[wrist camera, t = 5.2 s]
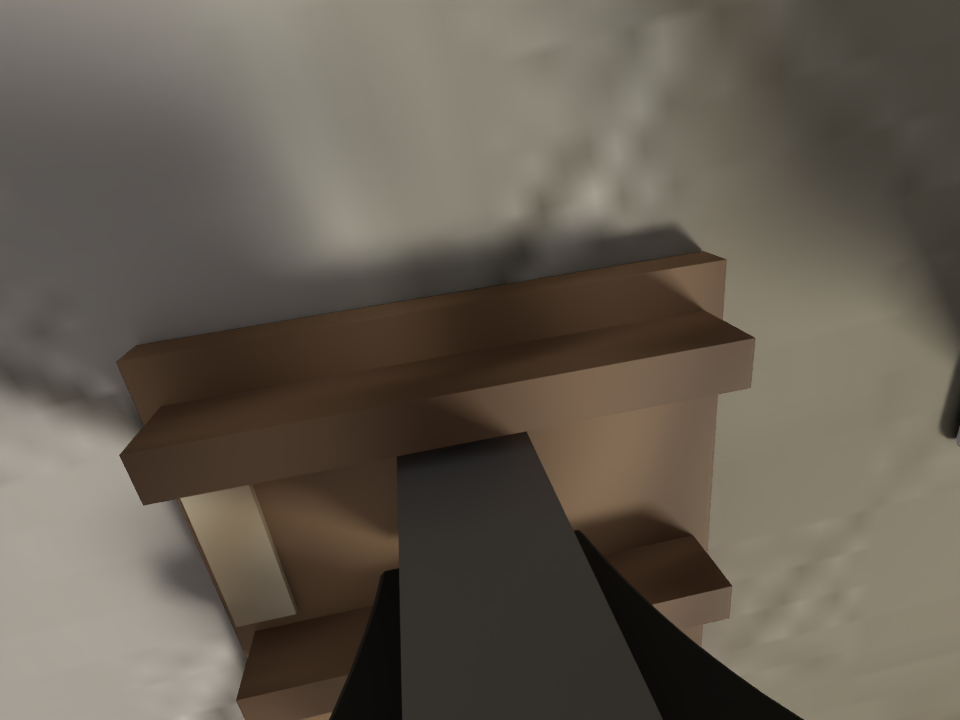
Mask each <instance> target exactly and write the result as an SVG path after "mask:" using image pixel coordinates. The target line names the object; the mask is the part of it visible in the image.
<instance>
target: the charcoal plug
mask: <svg viewBox="0 0 960 720" xmlns="http://www.w3.org/2000/svg"><path fill="white" fill-rule="evenodd" d="M397 491H398V539H399V586H400V634H401V682H402V720H663V719H662V717H661V715H660V712H659V710H658V708H657V706H656V704H655V702H654V700H653V698H652V696H651V693H650V691H649V689H648V687H647V685H646V683H645V681H644V679H643V677H642V674H641V672H640V670H639V668H638V666H637V664H636V662H635V660H634V657H633V655H632V653H631V651H630V649H629V647H628V645H627V643H626V641H625V638H624V636H623V634H622V632H621V630H620V628H619V626H618V624H617V622H616V619H615V617H614V615H613V613H612V611H611V609H610V607H609V605H608V603H607V600H606V598H605V596H604V594H603V592H602V590H601V588H600V586H599V584H598V581H597V579H596V577H595V575H594V573H593V571H592V569H591V567H590V565H589V562H588V560H587V558H586V556H585V554H584V552H583V550H582V548H581V546H580V543H579V541H578V539H577V537H576V535H575V533H574V531H573V529H572V526H571V524H570V522H569V520H568V518H567V516H566V514H565V512H564V510H563V507H562V505H561V503H560V501H559V499H558V497H557V495H556V493H555V491H554V488H553V486H552V484H551V482H550V480H549V478H548V476H547V474H546V472H545V469H544V467H543V465H542V463H541V461H540V459H539V457H538V455H537V453H536V450H535V448H534V446H533V444H532V442H531V440H530V438H529V436H528V434H527V431H525V432H520V433H515V434H510V435H505V436H500V437H494V438H489V439H484V440H479V441H474V442H469V443H463V444H458V445H453V446H448V447H443V448H438V449H432V450H427V451H422V452H417V453H412V454H407V455H401V456H397Z"/></svg>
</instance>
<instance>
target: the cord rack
mask: <svg viewBox="0 0 960 720" xmlns="http://www.w3.org/2000/svg"><path fill="white" fill-rule="evenodd" d="M725 276H726V259H724V258H721V257H718V256H715V255H713V254H710V253H707V252H704V251H703V252H697V253H691V254H685V255H679V256H673V257H667V258H661V259H655V260H649V261H643V262H637V263H631V264H625V265H619V266H613V267H607V268H601V269H595V270H589V271H582V272H576V273H570V274H564V275H558V276H552V277H546V278H540V279H534V280H528V281H522V282H516V283H510V284H504V285H498V286H492V287H486V288H480V289H474V290H468V291H462V292H456V293H450V294H444V295H438V296H431V297H425V298H419V299H413V300H407V301H401V302H395V303H389V304H383V305H377V306H371V307H365V308H359V309H353V310H347V311H341V312H335V313H329V314H323V315H317V316H311V317H305V318H299V319H293V320H287V321H280V322H274V323H268V324H262V325H256V326H250V327H244V328H238V329H232V330H226V331H220V332H214V333H208V334H202V335H196V336H190V337H184V338H178V339H172V340H166V341H160V342H154V343H148V344H142V345H136V346H135V347H134V348H133V349H131V350H130V351H129V352H128V353H126V354H125V355H124V356H123V357H122V358H120V359H119V360H118V361H117V362H116V363H117V365H118V368H119V370H120V372H121V374H122V377H123V379H124V381H125V383H126V386H127V388H128V390H129V393H130V395H131V397H132V399H133V402H134V404H135V406H136V408H137V411H138V413H139V415H140V417H141V420H142V422H143V424H144V427H143V428H142V429H141V430H140V431H139V433H138V434H137V435H136V436H135V437H134V438H133V440H132V441H131V442H130V443H129V444H128V445H127V447H126V448H125V449H124V450H123V451H122V453H121V454H120V455H119V456H120V458H121V460H122V462H123V464H124V466H125V468H126V470H127V472H128V474H129V477H130V479H131V481H132V483H133V485H134V487H135V489H136V491H137V493H138V495H139V498H140V500H141V502H142V504H143V505H148V504H153V503H158V502H163V501H169V500H174V499H177V501H178V504H179V506H180V508H181V510H182V513H183V515H184V517H185V519H186V522H187V524H188V526H189V528H190V531H191V533H192V535H193V538H194V540H195V542H196V544H197V547H198V549H199V551H200V553H201V556H202V558H203V560H204V562H205V565H206V567H207V569H208V572H209V574H210V576H211V578H212V581H213V583H214V585H215V587H216V590H217V592H218V594H219V596H220V599H221V601H222V603H223V606H224V608H225V610H226V612H227V615H228V617H229V619H230V621H231V624H232V626H233V628H234V630H235V633H236V635H237V637H238V640H239V642H240V644H241V646H242V649H243V651H244V653H245V655H246V658H247V662H246V666H245V670H244V673H243V677H242V681H241V685H240V688H239V692H238V696H237V699H236V701H237V704H238V706H239V708H240V710H241V712H242V714H243V716H244V718H245V720H329V718H330V716H331V714H332V712H333V709H334V707H335V705H336V702H337V700H338V698H339V696H340V693H341V691H342V689H343V686H344V684H345V682H346V679H347V677H348V675H349V672H350V670H351V667H352V664H353V662H354V659H355V656H356V654H357V651H358V648H359V645H360V643H361V640H362V637H363V635H364V632H365V629H366V626H367V623H368V620H369V617H370V614H371V610H372V607H373V604H374V600H375V597H376V593H377V589H378V585H379V580H380V576H381V575H382V574H383V573H384V571H388V570H392V569H397V568H399V539H398V491H397V456H401V455H407V454H412V453H417V452H422V451H427V450H432V449H438V448H443V447H448V446H453V445H458V444H463V443H469V442H474V441H479V440H484V439H489V438H494V437H500V436H505V435H510V434H515V433H520V432H525V431H527V434H528V436H529V438H530V440H531V442H532V444H533V446H534V448H535V450H536V453H537V455H538V457H539V459H540V461H541V463H542V465H543V467H544V469H545V472H546V474H547V476H548V478H549V480H550V482H551V484H552V486H553V488H554V491H555V493H556V495H557V497H558V499H559V501H560V503H561V505H562V507H563V510H564V512H565V514H566V516H567V518H568V520H569V522H570V524H571V526H572V529H573V531H575V530H579V531H581V532H582V533H584V535H585V536H586V537H587V538H588V539H589V541H590V542H591V543H592V544H593V545H594V546H595V547H596V549H597V550H598V551H599V552H600V553H601V554H602V555H603V556H604V557H605V558H606V560H607V561H608V562H609V563H610V564H611V565H612V566H613V567H614V568H615V569H616V570H617V571H618V572H619V573H620V574H621V575H622V576H623V577H624V578H625V579H626V580H627V581H628V582H629V583H630V584H631V585H632V586H633V587H634V588H635V589H636V590H637V591H638V592H639V593H640V594H641V595H642V596H643V597H644V598H645V599H646V600H647V601H648V602H650V603H651V604H652V605H653V606H654V607H655V608H656V609H657V610H658V611H659V612H660V613H661V614H663V615H664V616H665V617H666V618H667V619H668V620H669V621H670V622H672V623H673V624H674V625H675V626H676V627H677V628H679V629H680V630H681V631H682V632H683V633H684V634H686V635H687V636H688V637H689V638H690V639H692V640H693V641H694V642H695V643H696V644H698V645H699V646H700V647H701V643H702V628H703V624H706V623H710V622H714V621H719V620H723V619H727V618H729V616H730V606H731V595H732V585H731V584H730V582H729V581H728V580H727V579H726V577H725V576H724V575H723V573H722V572H721V571H720V569H719V568H718V567H717V565H716V564H715V563H714V562H713V560H712V559H711V558H710V556H709V555H708V554H707V551H708V536H709V521H710V506H711V490H712V475H713V460H714V444H715V429H716V414H717V398H718V394H722V393H727V392H732V391H737V390H743V389H748V388H751V381H752V370H753V359H754V348H755V338H754V337H752V336H751V335H749V334H747V333H745V332H743V331H742V330H740V329H738V328H736V327H734V326H732V325H731V324H729V323H727V322H725V321H723V306H724V291H725Z"/></svg>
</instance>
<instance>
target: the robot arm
mask: <svg viewBox="0 0 960 720" xmlns="http://www.w3.org/2000/svg"><path fill="white" fill-rule="evenodd" d="M957 444H958V446H959V447H960V427H959V431H958V434H957ZM574 533H575V535H576V537H577V539H578V541H579V543H580V546H581V548H582V550H583V552H584V554H585V556H586V558H587V560H588V562H589V565H590V567H591V569H592V571H593V573H594V575H595V577H596V579H597V581H598V584H599V586H600V588H601V590H602V592H603V594H604V596H605V598H606V600H607V603H608V605H609V607H610V609H611V611H612V613H613V615H614V617H615V619H616V622H617V624H618V626H619V628H620V630H621V632H622V634H623V636H624V638H625V641H626V643H627V645H628V647H629V649H630V651H631V653H632V655H633V657H634V660H635V662H636V664H637V666H638V668H639V670H640V672H641V674H642V677H643V679H644V681H645V683H646V685H647V687H648V689H649V691H650V693H651V696H652V698H653V700H654V702H655V704H656V706H657V708H658V710H659V712H660V715H661V717H662V719H663V720H804V719H802V718H800V717H799V716H797V715H796V714H794V713H793V712H791V711H790V710H788V709H786V708H785V707H783V706H782V705H780V704H779V703H777V702H776V701H774V700H772V699H771V698H769V697H768V696H766V695H765V694H763V693H762V692H760V691H759V690H758V689H756V688H755V687H753V686H752V685H751V684H749V683H748V682H746V681H745V680H744V679H742V678H741V677H739V676H738V675H737V674H735V673H734V672H733V671H731V670H730V669H729V668H727V667H726V666H725V665H723V664H722V663H721V662H719V661H718V660H717V659H715V658H714V657H713V656H711V655H710V654H709V653H708V652H706V651H705V650H704V649H703V648H701V647H700V646H699V645H698V644H696V643H695V642H694V641H693V640H692V639H690V638H689V637H688V636H687V635H686V634H684V633H683V632H682V631H681V630H680V629H679V628H677V627H676V626H675V625H674V624H673V623H672V622H670V621H669V620H668V619H667V618H666V617H665V616H664V615H663V614H661V613H660V612H659V611H658V610H657V609H656V608H655V607H654V606H653V605H652V604H651V603H650V602H648V601H647V600H646V599H645V598H644V597H643V596H642V595H641V594H640V593H639V592H638V591H637V590H636V589H635V588H634V587H633V586H632V585H631V584H630V583H629V582H628V581H627V580H626V579H625V578H624V577H623V576H622V575H621V574H620V573H619V572H618V571H617V570H616V569H615V568H614V567H613V566H612V565H611V564H610V563H609V562H608V561H607V560H606V558H605V557H604V556H603V555H602V554H601V553H600V552H599V551H598V550H597V549H596V547H595V546H594V545H593V544H592V543H591V542H590V541H589V539H588V538H587V537H586V536H585V535H584V533H582V532H581V531H579V530H575V531H574ZM329 720H402V682H401V634H400V586H399V568H397V569H392V570H388V571H384V573H383V574H382V575H381V576H380V580H379V585H378V589H377V593H376V597H375V600H374V604H373V607H372V610H371V614H370V617H369V620H368V623H367V626H366V629H365V632H364V635H363V637H362V640H361V643H360V645H359V648H358V651H357V654H356V656H355V659H354V662H353V664H352V667H351V670H350V672H349V675H348V677H347V679H346V682H345V684H344V686H343V689H342V691H341V693H340V696H339V698H338V700H337V702H336V705H335V707H334V709H333V712H332V714H331V716H330V718H329Z"/></svg>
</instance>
